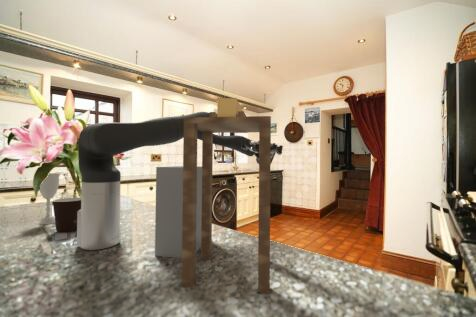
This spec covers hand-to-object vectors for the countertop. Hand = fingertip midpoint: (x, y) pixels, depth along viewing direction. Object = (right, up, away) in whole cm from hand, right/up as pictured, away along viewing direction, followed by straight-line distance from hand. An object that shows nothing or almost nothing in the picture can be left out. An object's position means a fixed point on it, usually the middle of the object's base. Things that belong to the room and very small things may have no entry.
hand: (260, 144), depth 75 cm
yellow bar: (-8, +3, -22) cm, 23 cm away
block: (-22, -28, -13) cm, 38 cm away
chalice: (-77, -28, +10) cm, 83 cm away
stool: (-9, -28, -27) cm, 40 cm away
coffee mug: (-63, -28, +3) cm, 69 cm away
